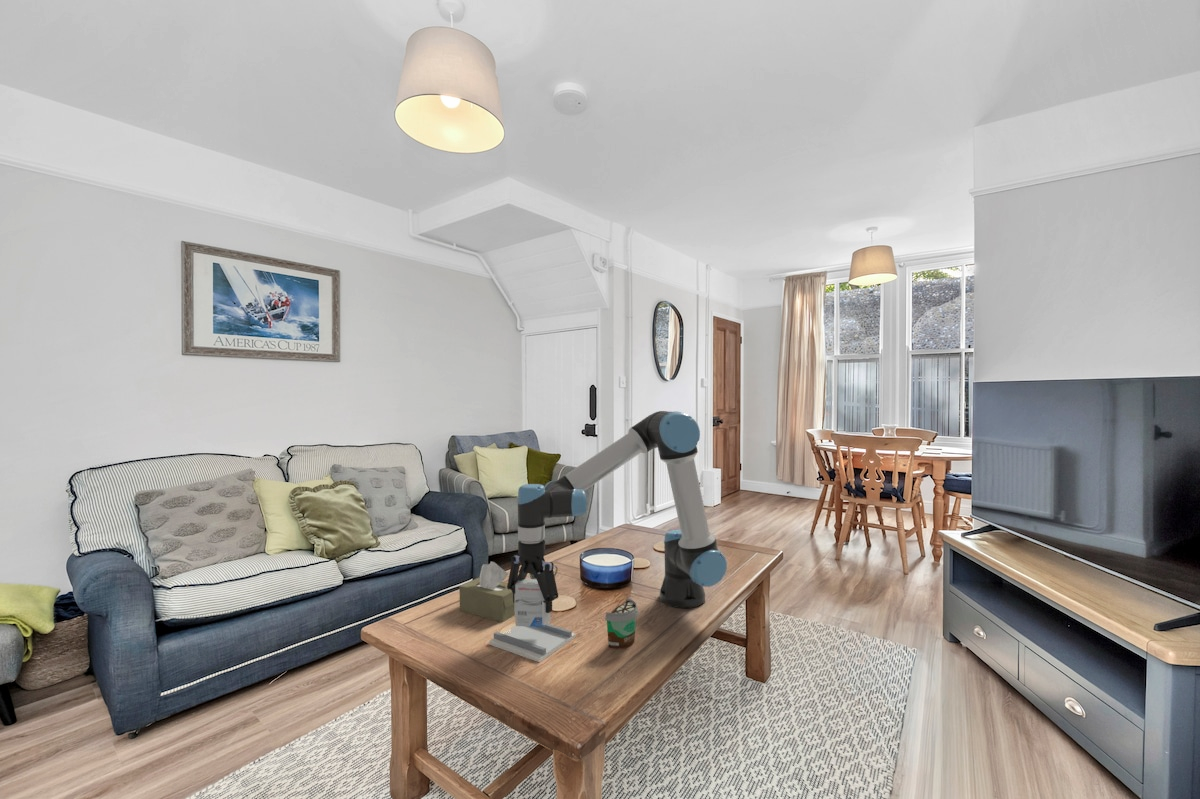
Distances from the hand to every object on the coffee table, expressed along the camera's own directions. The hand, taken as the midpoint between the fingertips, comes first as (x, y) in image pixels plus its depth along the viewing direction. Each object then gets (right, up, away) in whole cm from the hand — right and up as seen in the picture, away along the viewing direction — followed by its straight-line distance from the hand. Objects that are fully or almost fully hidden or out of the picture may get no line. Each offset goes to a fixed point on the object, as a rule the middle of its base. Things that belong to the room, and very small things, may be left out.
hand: (532, 619), depth 144 cm
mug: (0, -6, +33) cm, 33 cm away
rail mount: (0, -6, 0) cm, 6 cm away
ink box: (0, -1, 0) cm, 1 cm away
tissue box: (-16, -7, +21) cm, 27 cm away
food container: (+27, -6, -2) cm, 27 cm away
